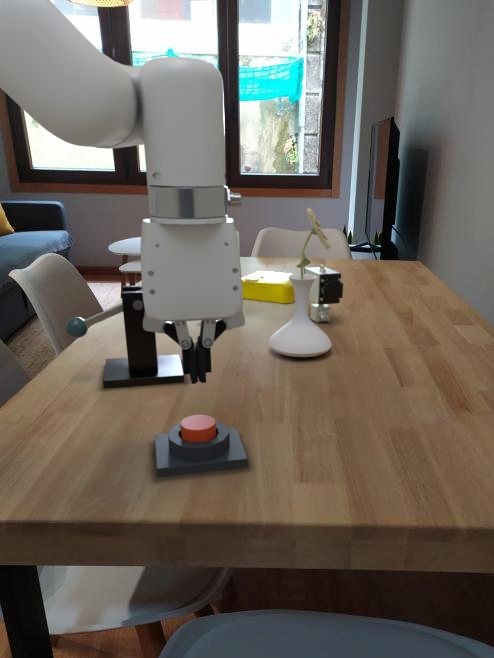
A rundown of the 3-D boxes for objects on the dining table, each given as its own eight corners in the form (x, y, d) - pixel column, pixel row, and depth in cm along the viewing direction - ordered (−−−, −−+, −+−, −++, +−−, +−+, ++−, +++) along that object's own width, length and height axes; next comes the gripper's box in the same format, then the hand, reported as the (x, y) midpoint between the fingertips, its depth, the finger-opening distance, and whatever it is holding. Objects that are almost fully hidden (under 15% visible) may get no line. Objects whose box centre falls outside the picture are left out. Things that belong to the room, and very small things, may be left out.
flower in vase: (323, 366, 92) (330, 212, 83) (259, 358, 95) (260, 209, 86) (339, 343, 104) (347, 206, 94) (282, 337, 107) (284, 204, 97)
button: (182, 445, 61) (181, 431, 60) (180, 429, 64) (179, 416, 63) (218, 441, 62) (217, 428, 61) (213, 426, 65) (213, 413, 64)
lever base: (103, 388, 82) (92, 298, 76) (106, 365, 90) (97, 283, 85) (184, 382, 84) (179, 294, 79) (179, 360, 93) (175, 280, 88)
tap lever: (71, 344, 81) (59, 325, 80) (73, 337, 84) (62, 319, 83) (151, 308, 82) (141, 289, 81) (150, 303, 85) (141, 285, 84)
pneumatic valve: (321, 328, 113) (323, 270, 108) (299, 314, 123) (301, 260, 118) (344, 326, 115) (348, 269, 110) (322, 312, 125) (324, 259, 120)
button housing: (157, 478, 59) (155, 454, 58) (155, 443, 66) (153, 421, 65) (247, 467, 61) (247, 444, 60) (236, 435, 69) (235, 413, 67)
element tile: (289, 304, 131) (290, 284, 129) (234, 297, 136) (233, 278, 134) (310, 291, 144) (311, 273, 142) (259, 286, 149) (259, 268, 147)
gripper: (255, 202, 58) (257, 362, 65) (110, 203, 55) (128, 372, 62) (271, 208, 52) (270, 386, 59) (106, 209, 48) (127, 398, 55)
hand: (197, 378), depth 60 cm, fingers closed
